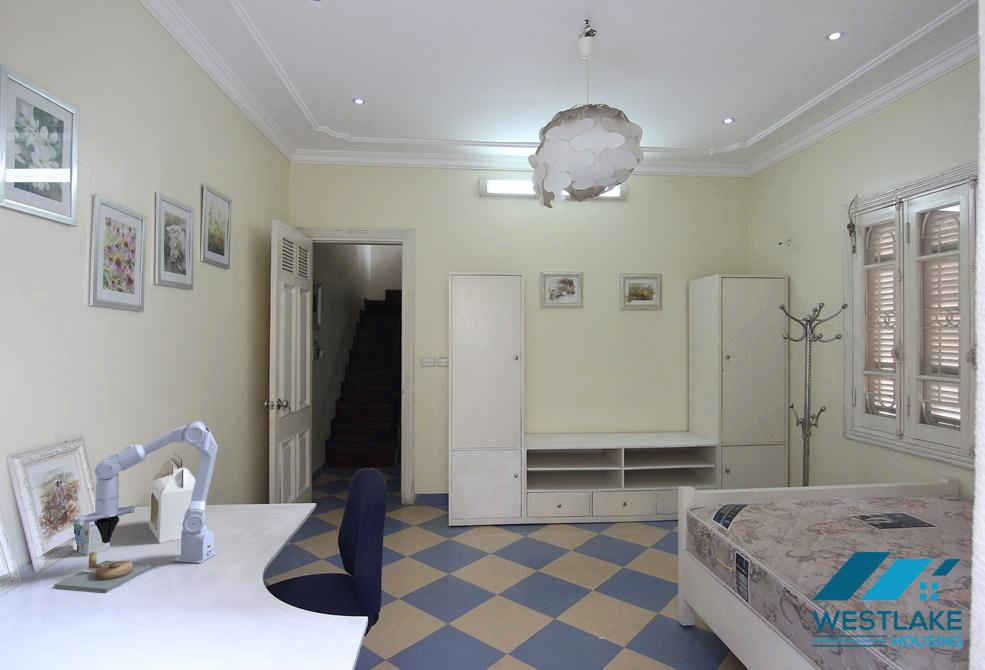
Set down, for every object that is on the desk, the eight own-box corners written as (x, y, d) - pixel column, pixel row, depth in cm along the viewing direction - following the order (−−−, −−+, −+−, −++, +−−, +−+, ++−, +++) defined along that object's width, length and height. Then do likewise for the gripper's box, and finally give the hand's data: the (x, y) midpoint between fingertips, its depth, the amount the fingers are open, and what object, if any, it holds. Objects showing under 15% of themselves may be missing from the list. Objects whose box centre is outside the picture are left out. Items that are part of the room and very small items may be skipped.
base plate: (154, 567, 163) (154, 563, 164) (106, 592, 147) (107, 588, 147) (106, 563, 166) (106, 559, 166) (54, 587, 149) (54, 583, 149)
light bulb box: (71, 550, 176) (72, 517, 177) (94, 543, 182) (95, 512, 183) (88, 556, 171) (89, 523, 172) (110, 549, 177) (111, 517, 178)
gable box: (148, 527, 200) (151, 453, 200) (188, 519, 208) (190, 449, 209) (159, 544, 183) (161, 463, 184) (201, 535, 192) (203, 458, 192)
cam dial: (139, 567, 161) (139, 549, 161) (115, 580, 152) (116, 560, 152) (101, 565, 162) (102, 547, 162) (76, 578, 153) (76, 558, 153)
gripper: (84, 505, 153) (83, 552, 153) (139, 494, 165) (138, 537, 165) (74, 501, 157) (73, 547, 157) (129, 490, 169) (128, 533, 169)
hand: (105, 542), depth 161 cm, fingers closed
